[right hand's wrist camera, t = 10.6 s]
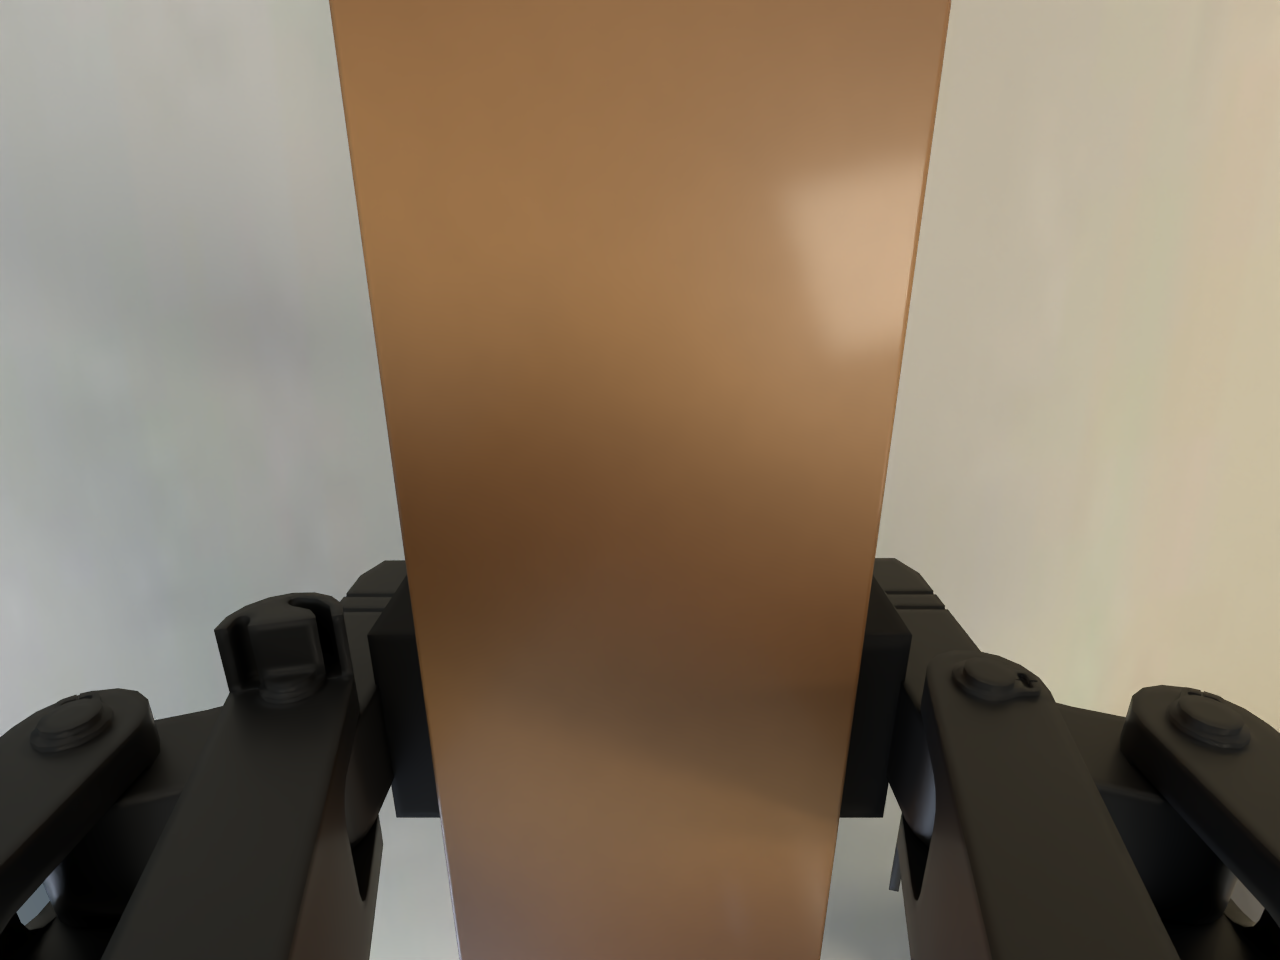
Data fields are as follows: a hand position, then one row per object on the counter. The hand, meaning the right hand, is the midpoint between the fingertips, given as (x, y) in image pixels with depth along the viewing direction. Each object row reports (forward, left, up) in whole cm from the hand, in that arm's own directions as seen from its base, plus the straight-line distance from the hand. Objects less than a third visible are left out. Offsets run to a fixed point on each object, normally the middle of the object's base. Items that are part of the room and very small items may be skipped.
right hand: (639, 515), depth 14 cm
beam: (+15, -16, -1) cm, 22 cm away
